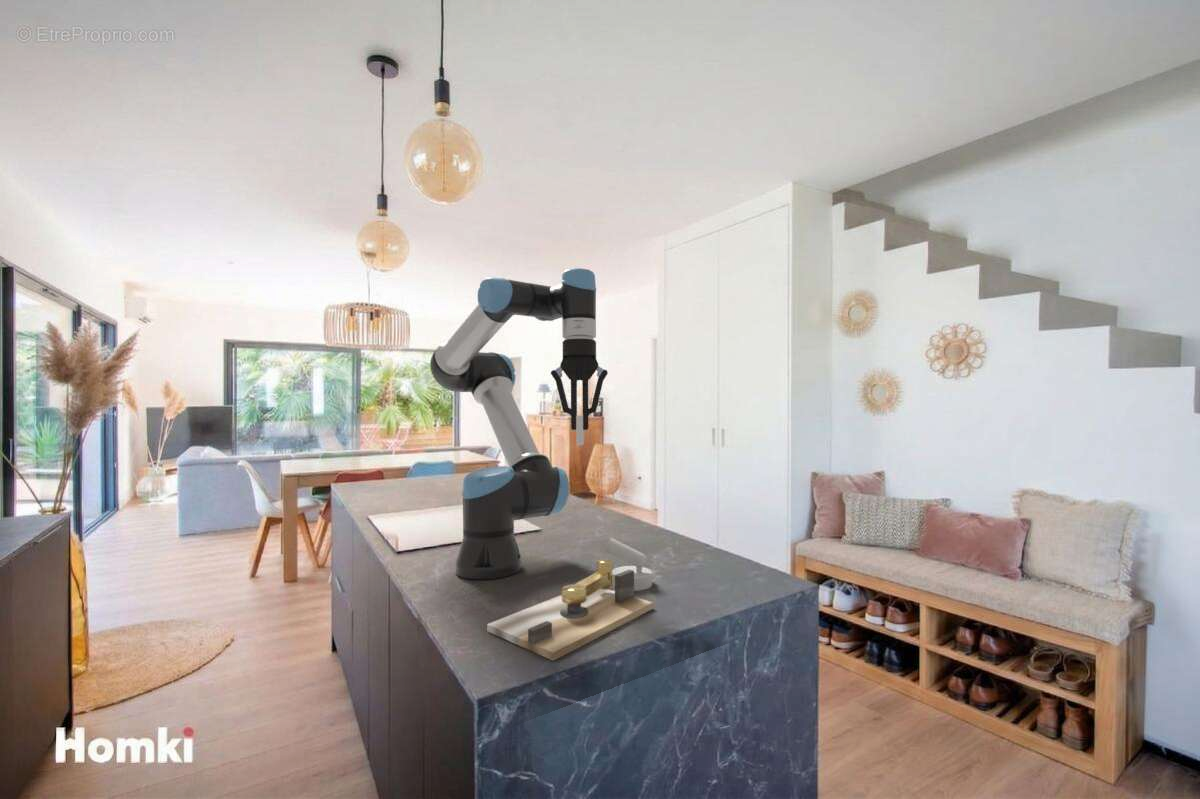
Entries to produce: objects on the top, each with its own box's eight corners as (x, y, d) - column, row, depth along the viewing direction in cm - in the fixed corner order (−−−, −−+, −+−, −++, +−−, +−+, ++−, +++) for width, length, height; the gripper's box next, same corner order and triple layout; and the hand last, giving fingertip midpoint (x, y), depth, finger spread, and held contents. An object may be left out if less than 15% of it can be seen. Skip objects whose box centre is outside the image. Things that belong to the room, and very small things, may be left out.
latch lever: (577, 612, 91) (577, 583, 91) (556, 607, 93) (556, 578, 93) (618, 586, 103) (618, 560, 103) (599, 582, 106) (599, 557, 106)
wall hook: (608, 533, 118) (653, 535, 116) (609, 575, 118) (653, 578, 116) (601, 543, 109) (649, 545, 107) (601, 589, 109) (649, 592, 107)
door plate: (487, 631, 89) (486, 594, 89) (589, 589, 109) (589, 559, 109) (553, 660, 79) (552, 619, 79) (653, 608, 98) (652, 575, 98)
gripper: (548, 337, 114) (549, 446, 114) (608, 337, 114) (609, 445, 114) (552, 341, 121) (552, 443, 121) (608, 341, 121) (609, 443, 121)
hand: (580, 444), depth 117 cm, fingers closed
